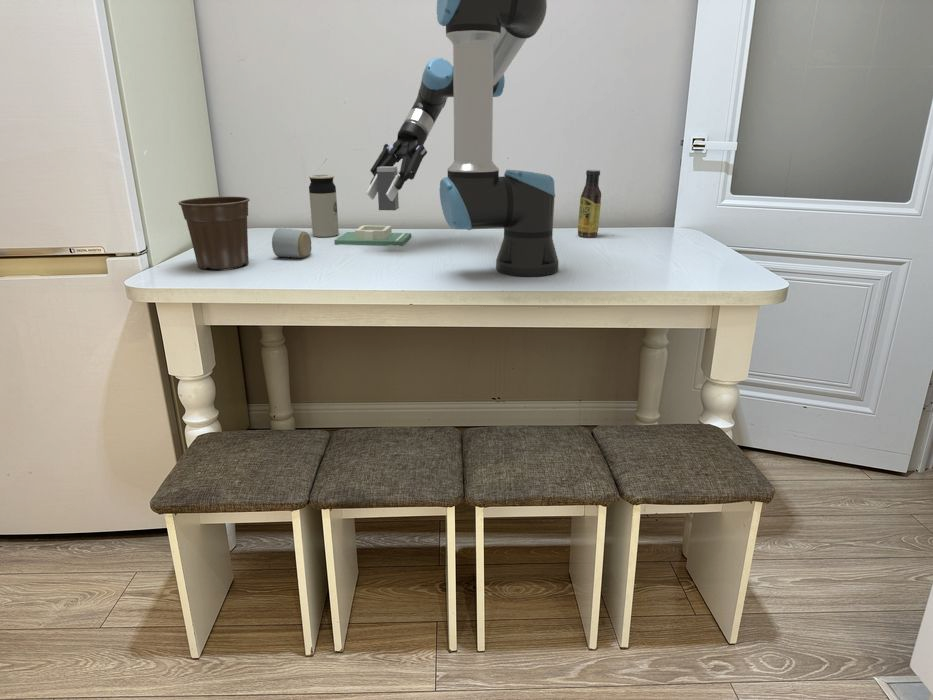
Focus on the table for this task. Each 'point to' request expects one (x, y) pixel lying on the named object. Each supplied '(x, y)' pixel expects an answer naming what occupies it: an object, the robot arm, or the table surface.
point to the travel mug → (323, 206)
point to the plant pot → (218, 230)
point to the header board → (373, 236)
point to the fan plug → (386, 187)
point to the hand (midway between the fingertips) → (379, 196)
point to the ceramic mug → (291, 243)
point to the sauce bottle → (590, 205)
